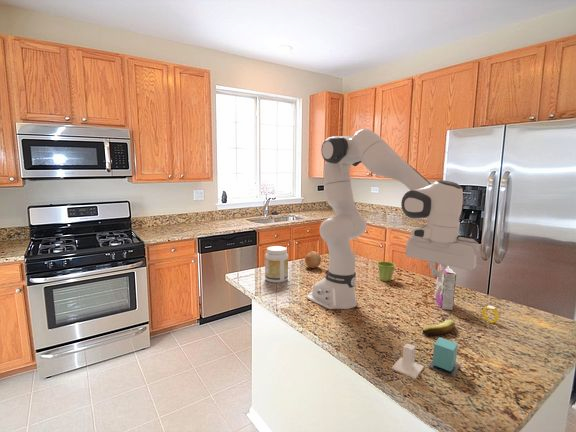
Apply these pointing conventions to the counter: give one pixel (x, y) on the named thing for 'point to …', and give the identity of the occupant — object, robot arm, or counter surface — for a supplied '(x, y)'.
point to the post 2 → (449, 373)
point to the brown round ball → (312, 259)
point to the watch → (493, 311)
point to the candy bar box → (446, 288)
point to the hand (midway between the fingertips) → (436, 276)
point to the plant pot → (386, 270)
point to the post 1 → (408, 363)
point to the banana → (432, 329)
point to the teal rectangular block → (445, 354)
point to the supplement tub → (276, 264)
